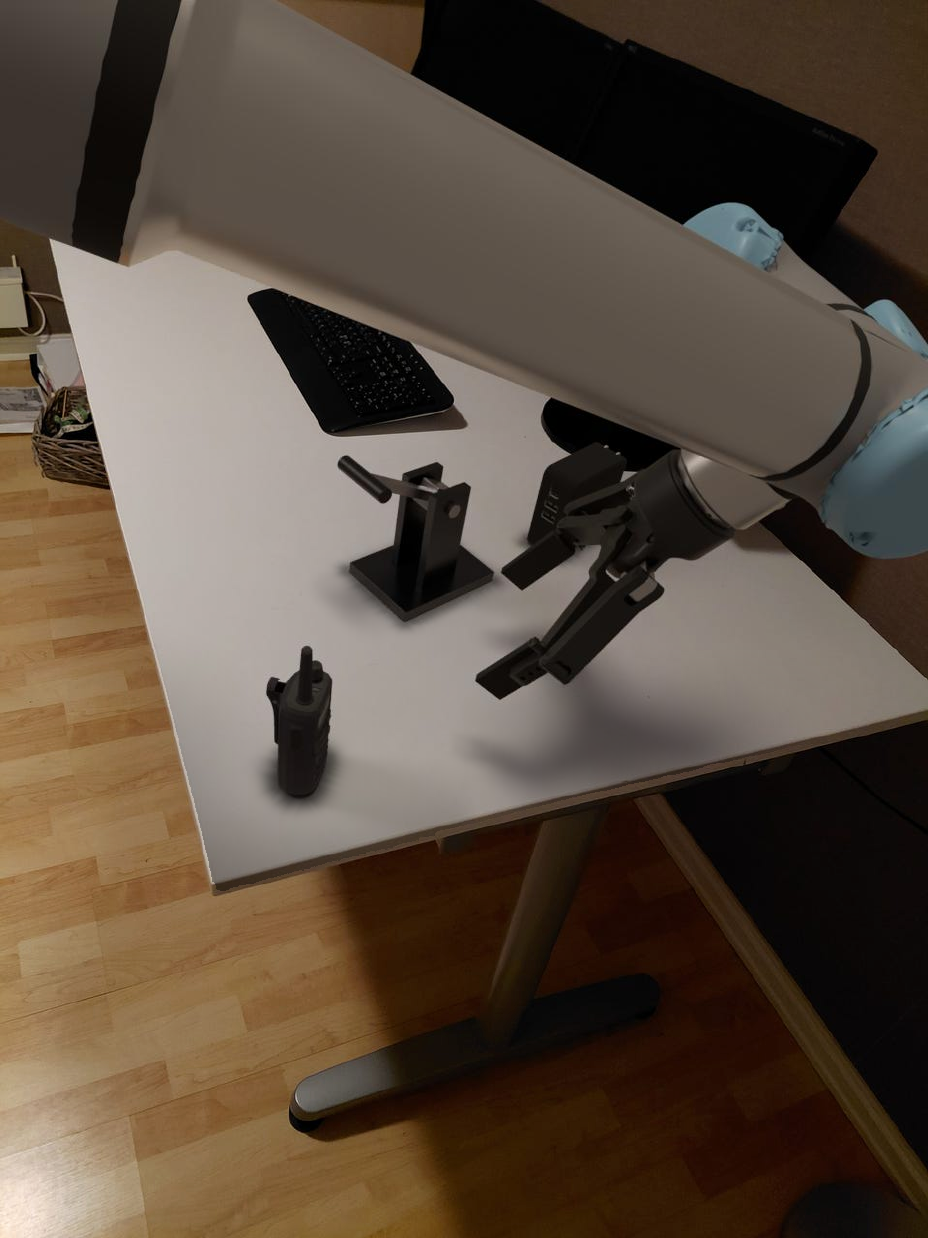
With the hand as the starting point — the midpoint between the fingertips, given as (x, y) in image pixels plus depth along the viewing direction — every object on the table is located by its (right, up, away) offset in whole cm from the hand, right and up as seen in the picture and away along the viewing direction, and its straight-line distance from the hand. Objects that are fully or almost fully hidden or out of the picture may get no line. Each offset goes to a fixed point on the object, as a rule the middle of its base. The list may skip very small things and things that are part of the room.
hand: (500, 629), depth 71 cm
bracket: (-8, +5, +16) cm, 18 cm away
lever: (-9, +12, +6) cm, 16 cm away
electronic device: (+9, +10, +25) cm, 29 cm away
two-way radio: (-17, -11, -4) cm, 20 cm away
